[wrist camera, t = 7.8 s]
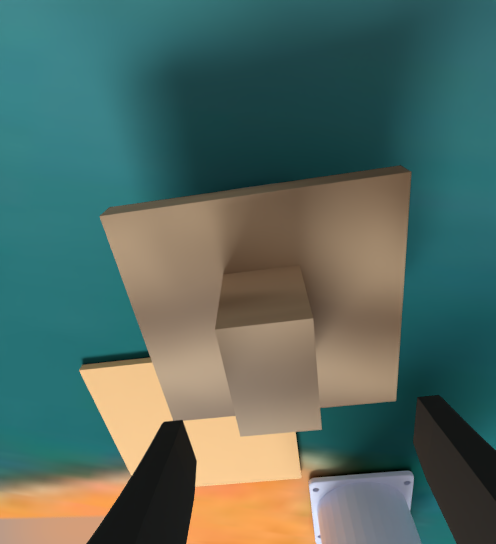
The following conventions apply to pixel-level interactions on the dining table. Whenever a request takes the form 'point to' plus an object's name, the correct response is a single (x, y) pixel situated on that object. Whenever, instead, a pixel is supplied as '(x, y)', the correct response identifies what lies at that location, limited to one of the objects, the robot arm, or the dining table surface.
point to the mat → (202, 432)
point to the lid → (270, 296)
